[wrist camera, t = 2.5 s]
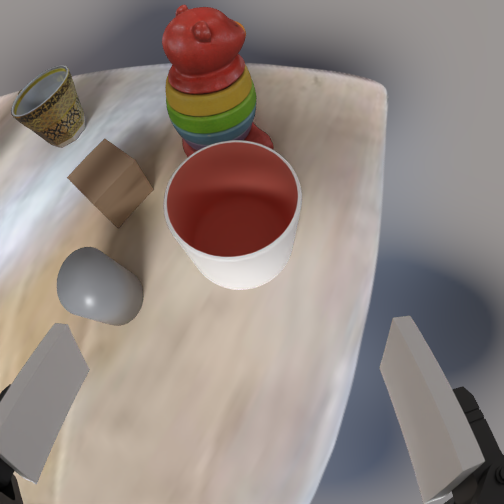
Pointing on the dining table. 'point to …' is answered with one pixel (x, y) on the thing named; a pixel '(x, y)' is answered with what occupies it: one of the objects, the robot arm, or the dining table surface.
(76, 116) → the ceramic cup
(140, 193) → the walnut block
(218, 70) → the stacking bear
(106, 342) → the dining table surface
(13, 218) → the dining table surface
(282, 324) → the dining table surface
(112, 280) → the grey rounded cylinder
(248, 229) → the cup
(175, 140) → the dining table surface
